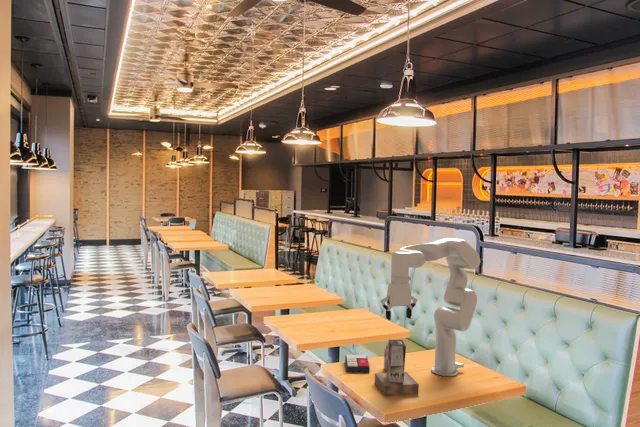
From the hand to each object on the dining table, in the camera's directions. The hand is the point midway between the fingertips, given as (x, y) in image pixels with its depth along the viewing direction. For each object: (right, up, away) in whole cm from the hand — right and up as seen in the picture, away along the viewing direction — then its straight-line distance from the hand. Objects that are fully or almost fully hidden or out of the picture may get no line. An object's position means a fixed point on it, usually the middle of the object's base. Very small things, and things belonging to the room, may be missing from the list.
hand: (398, 318), depth 211 cm
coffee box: (-1, -27, +1) cm, 27 cm away
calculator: (-16, -30, +27) cm, 44 cm away
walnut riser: (-1, -32, +1) cm, 32 cm away
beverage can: (+1, -30, +25) cm, 39 cm away
